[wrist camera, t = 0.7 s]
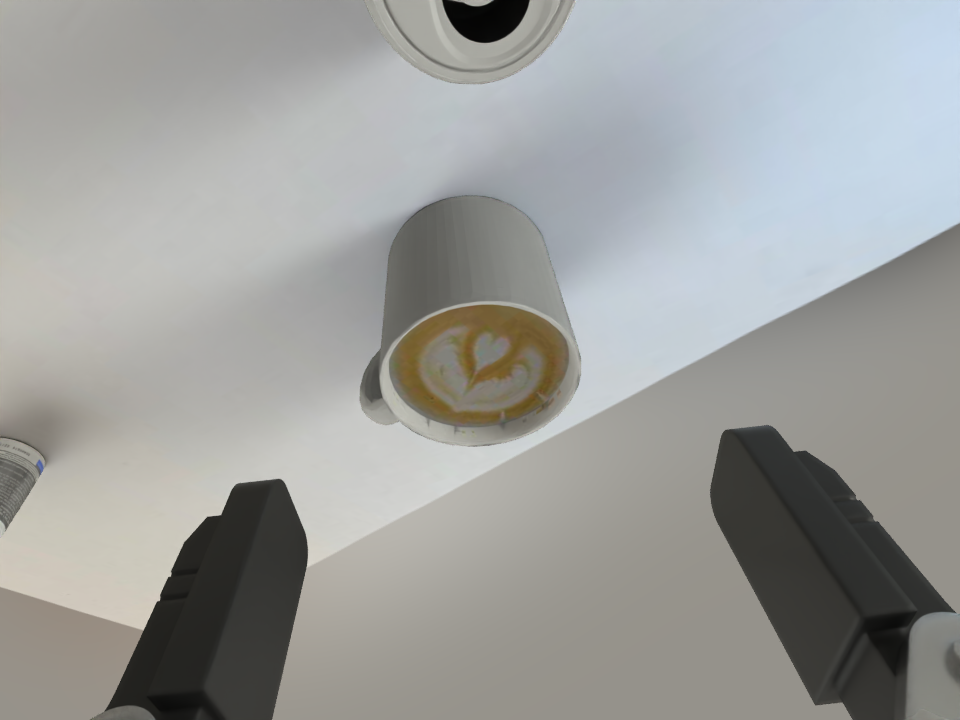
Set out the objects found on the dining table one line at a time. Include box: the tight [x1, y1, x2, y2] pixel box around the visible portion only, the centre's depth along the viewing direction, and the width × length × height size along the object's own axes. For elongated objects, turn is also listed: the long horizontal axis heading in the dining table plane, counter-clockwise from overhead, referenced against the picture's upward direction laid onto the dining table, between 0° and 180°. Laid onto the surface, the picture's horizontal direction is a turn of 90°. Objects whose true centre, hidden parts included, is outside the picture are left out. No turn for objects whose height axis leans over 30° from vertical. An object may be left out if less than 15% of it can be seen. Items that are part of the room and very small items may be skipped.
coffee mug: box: [360, 196, 581, 447], centre depth 31 cm, size 13×10×10 cm
